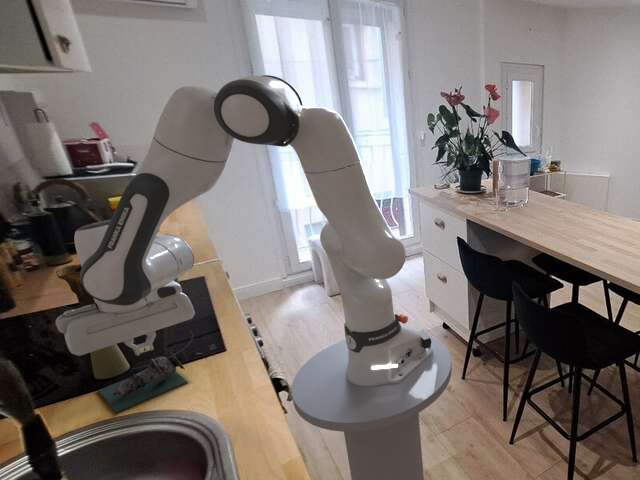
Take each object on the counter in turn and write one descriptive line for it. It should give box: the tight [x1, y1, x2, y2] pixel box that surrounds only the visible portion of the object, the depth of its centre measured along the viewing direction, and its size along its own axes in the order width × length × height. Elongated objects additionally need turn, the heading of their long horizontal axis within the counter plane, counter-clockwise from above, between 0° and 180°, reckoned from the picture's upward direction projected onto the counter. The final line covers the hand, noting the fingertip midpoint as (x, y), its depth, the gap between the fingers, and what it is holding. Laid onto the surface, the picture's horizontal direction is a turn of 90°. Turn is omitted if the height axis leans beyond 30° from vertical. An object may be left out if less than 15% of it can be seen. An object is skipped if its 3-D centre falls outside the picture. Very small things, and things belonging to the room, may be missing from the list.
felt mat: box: [97, 370, 189, 414], centre depth 91 cm, size 12×12×1 cm
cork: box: [89, 343, 131, 380], centre depth 94 cm, size 6×6×11 cm
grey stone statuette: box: [112, 350, 186, 396], centre depth 90 cm, size 6×6×12 cm
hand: (144, 351), depth 90 cm, fingers closed
